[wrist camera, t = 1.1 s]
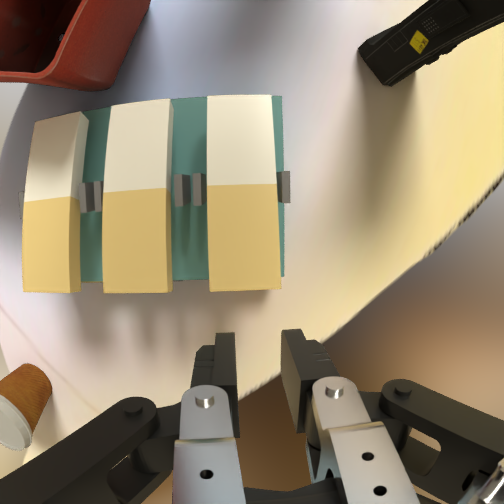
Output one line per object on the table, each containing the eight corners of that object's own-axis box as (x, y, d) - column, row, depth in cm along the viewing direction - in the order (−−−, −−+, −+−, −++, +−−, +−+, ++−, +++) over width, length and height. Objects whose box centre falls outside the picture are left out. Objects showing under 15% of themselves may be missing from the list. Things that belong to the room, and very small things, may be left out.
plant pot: (64, -19, 25) (9, -78, 8) (186, -16, 27) (167, -107, 11) (8, 101, 28) (-80, 79, 12) (127, 121, 31) (49, 80, 14)
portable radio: (379, 94, 32) (544, 22, 8) (348, 53, 31) (482, -62, 6) (419, 68, 31) (567, 5, 7) (390, 31, 30) (519, -62, 6)
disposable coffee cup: (18, 342, 36) (-27, 383, 24) (68, 381, 37) (32, 433, 26) (8, 379, 37) (-29, 420, 25) (53, 414, 39) (23, 462, 27)
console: (65, 126, 30) (16, 112, 20) (274, 107, 32) (292, 79, 22) (74, 272, 34) (30, 302, 24) (276, 266, 35) (294, 299, 26)
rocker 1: (45, 129, 24) (35, 121, 22) (89, 120, 24) (80, 111, 22) (35, 290, 23) (23, 291, 21) (81, 291, 24) (70, 292, 22)
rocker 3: (209, 107, 25) (207, 95, 23) (268, 106, 25) (271, 94, 23) (211, 289, 24) (209, 291, 22) (277, 287, 24) (281, 288, 22)
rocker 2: (118, 115, 24) (111, 105, 22) (173, 109, 25) (169, 98, 23) (112, 291, 24) (103, 293, 22) (172, 290, 24) (167, 292, 22)
